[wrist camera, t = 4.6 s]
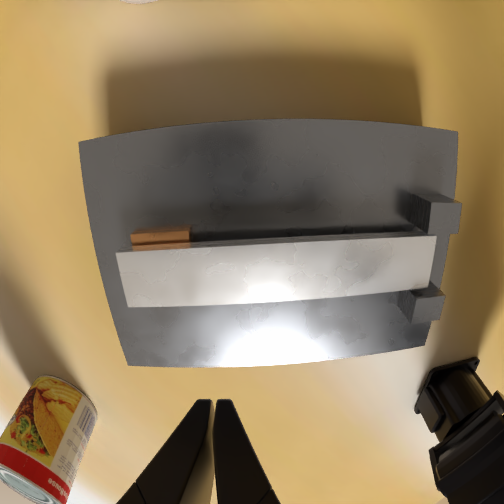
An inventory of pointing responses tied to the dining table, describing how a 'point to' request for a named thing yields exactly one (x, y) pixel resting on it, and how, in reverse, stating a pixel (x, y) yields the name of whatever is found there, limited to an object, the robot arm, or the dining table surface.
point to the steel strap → (274, 268)
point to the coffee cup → (138, 1)
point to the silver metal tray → (270, 229)
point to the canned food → (46, 441)
